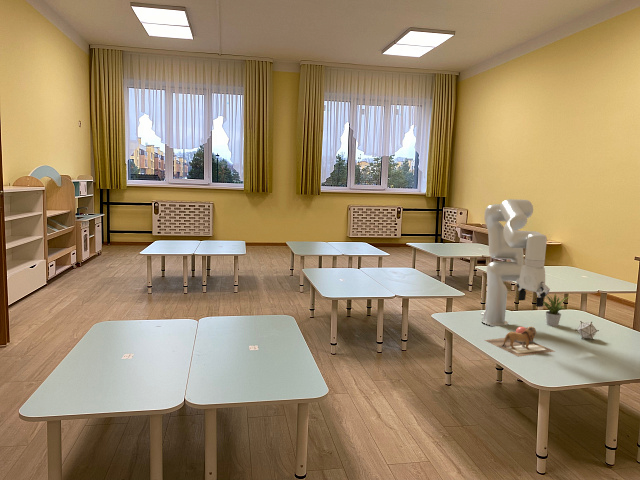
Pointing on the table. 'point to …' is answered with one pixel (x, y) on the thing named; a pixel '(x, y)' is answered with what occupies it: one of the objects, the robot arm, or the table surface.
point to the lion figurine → (520, 337)
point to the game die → (586, 330)
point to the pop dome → (520, 329)
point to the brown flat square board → (520, 347)
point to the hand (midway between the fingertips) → (530, 303)
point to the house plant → (553, 311)
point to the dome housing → (521, 342)
